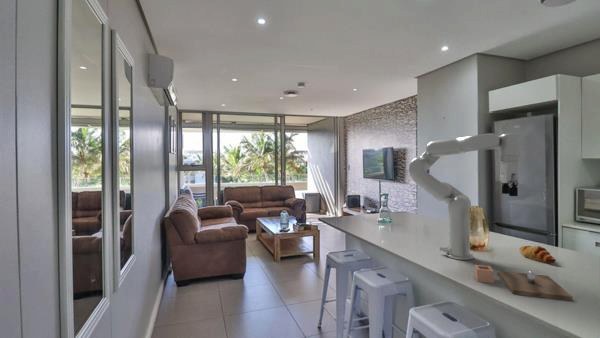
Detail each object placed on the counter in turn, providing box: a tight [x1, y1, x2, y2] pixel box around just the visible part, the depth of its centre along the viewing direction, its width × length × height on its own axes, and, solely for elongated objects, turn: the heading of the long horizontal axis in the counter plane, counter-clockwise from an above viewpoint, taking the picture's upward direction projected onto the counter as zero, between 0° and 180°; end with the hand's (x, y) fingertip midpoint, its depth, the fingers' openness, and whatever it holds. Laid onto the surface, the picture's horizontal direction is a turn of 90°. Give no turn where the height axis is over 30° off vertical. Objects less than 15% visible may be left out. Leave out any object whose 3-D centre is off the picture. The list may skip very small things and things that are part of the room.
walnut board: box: [497, 270, 574, 301], centre depth 118 cm, size 18×20×2 cm
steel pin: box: [527, 270, 536, 284], centre depth 118 cm, size 2×2×5 cm
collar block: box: [473, 264, 495, 284], centre depth 125 cm, size 6×6×5 cm
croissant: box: [519, 245, 556, 264], centre depth 150 cm, size 21×10×8 cm, turn 2°
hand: (509, 194), depth 142 cm, fingers open, 9 cm apart
